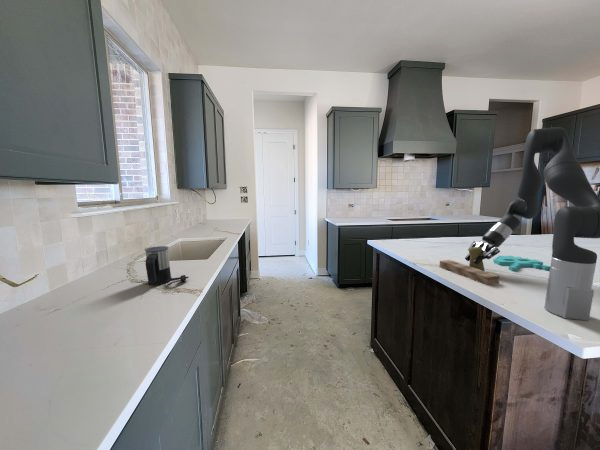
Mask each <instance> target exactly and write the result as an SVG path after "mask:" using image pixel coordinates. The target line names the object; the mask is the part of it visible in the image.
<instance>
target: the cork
mask: <svg viewBox="0 0 600 450" xmlns="http://www.w3.org/2000/svg"><path fill="white" fill-rule="evenodd" d="M468 248H469V247H468ZM469 253H470V261H469V265H468V266H470V267H473V268H476V269H479V270H482V271H485V265H484V261H483V260H482V261H481V262H480V263H479V264H475V263H474V262H473V261H474V260H475V259H476V258H477V257H478V256H480V254H481V253H482V249H481V248H480V247H471V248H469V251H468V254H469ZM485 272H486V271H485Z"/></svg>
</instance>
